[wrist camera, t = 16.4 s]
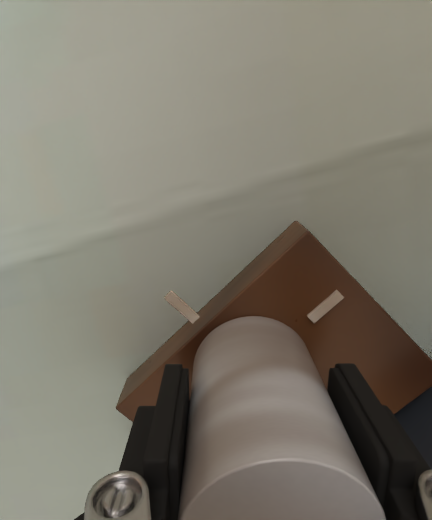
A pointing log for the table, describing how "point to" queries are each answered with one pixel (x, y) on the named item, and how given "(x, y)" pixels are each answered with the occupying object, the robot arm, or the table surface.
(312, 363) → the tap knob
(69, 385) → the table surface
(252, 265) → the panel
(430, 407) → the dark grey square tray
